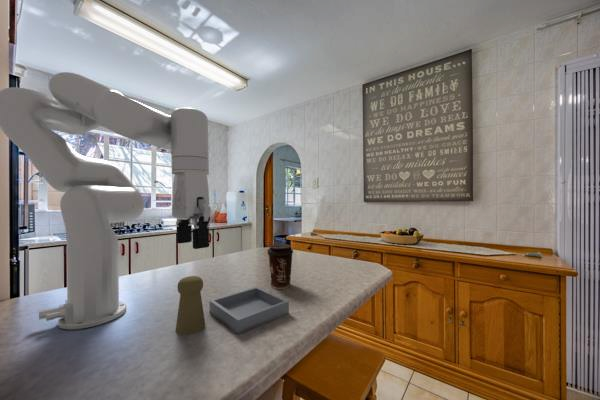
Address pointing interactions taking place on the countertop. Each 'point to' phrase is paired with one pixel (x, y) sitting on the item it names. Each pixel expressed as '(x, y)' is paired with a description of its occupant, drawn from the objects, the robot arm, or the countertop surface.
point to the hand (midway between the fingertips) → (192, 245)
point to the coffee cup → (280, 265)
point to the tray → (248, 309)
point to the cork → (190, 306)
